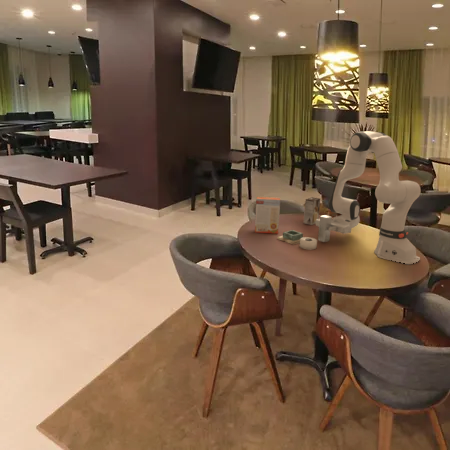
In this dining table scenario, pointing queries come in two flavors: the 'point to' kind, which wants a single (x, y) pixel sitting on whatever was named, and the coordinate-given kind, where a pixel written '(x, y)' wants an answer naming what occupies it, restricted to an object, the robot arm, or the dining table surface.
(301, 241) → the round bore block
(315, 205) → the coffee box
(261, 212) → the cracker box
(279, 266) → the dining table surface
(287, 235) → the square socket board
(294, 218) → the dining table surface
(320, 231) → the square bit
